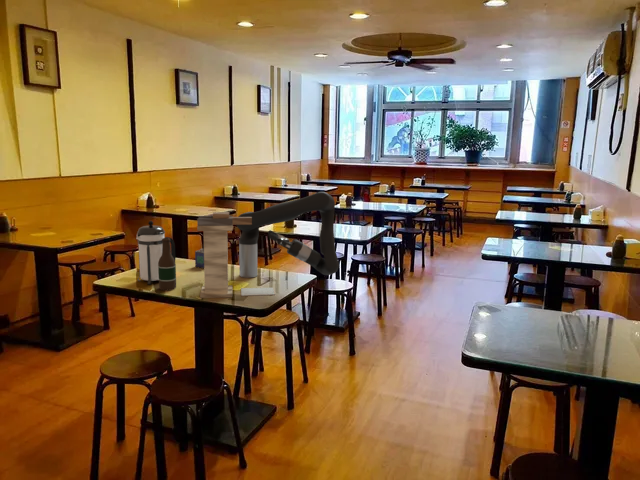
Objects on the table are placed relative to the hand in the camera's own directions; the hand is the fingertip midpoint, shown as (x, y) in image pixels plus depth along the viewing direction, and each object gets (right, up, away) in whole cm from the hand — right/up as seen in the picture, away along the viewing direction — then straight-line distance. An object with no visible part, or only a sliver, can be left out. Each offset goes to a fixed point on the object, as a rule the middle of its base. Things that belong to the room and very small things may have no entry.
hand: (269, 233), depth 225 cm
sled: (-16, +4, -3) cm, 17 cm away
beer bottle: (-48, -26, +7) cm, 55 cm away
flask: (-42, -18, +48) cm, 66 cm away
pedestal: (-24, -27, +1) cm, 36 cm away
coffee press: (-59, -23, +20) cm, 66 cm away
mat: (-6, -27, +4) cm, 28 cm away
